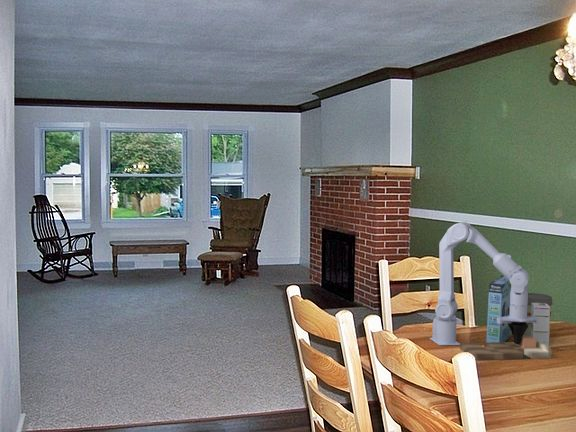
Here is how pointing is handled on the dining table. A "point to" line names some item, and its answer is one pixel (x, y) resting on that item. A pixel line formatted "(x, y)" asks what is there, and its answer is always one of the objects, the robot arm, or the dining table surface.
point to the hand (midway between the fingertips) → (517, 343)
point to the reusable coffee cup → (536, 299)
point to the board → (506, 351)
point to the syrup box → (541, 322)
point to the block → (528, 342)
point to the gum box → (498, 309)
